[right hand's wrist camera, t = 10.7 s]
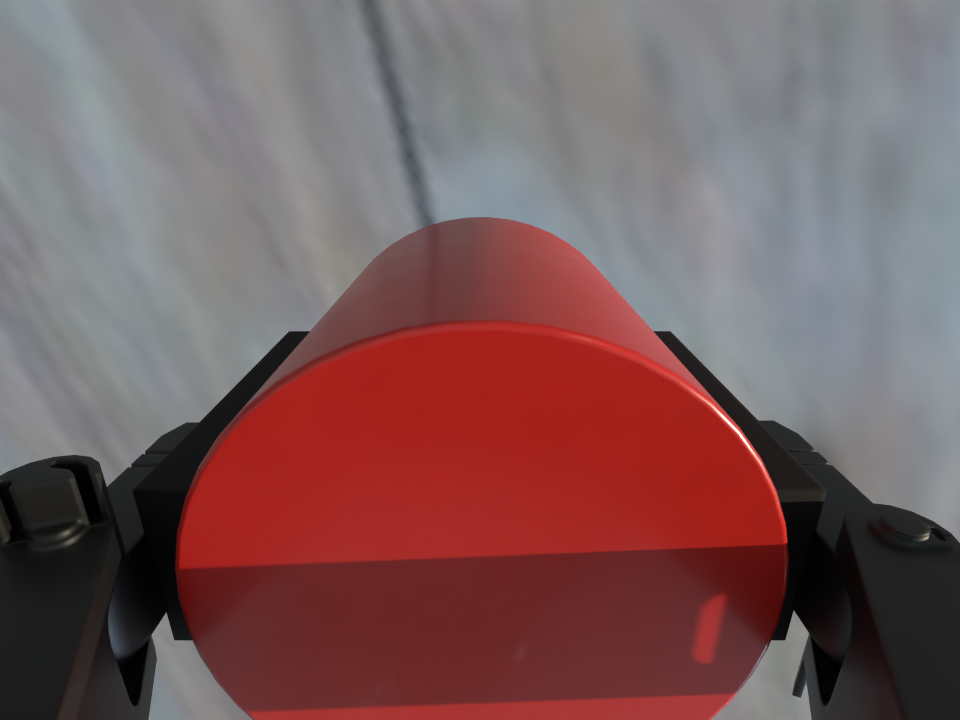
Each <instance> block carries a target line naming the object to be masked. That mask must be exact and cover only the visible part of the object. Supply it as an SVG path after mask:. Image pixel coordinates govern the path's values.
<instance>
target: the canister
mask: <svg viewBox="0 0 960 720" xmlns="http://www.w3.org/2000/svg"><path fill="white" fill-rule="evenodd" d="M788 568H789V553H788V543H787V532H786V523H785V519H784V516H783V512H782V509H781V505H780V501H779V498H778V494H777V491H776V488H775V486H774V484H773V482H772V480H771V478H770V476H769V474H768V472H767V470H766V467H765V465H764V463H763V461H762V459H761V457H760V456H759V455H758V453H757V452H756V450H755V449H754V447H753V446H752V445H751V443H750V442H749V440H748V439H747V437H746V436H745V435H744V433H743V432H742V430H741V429H740V428H739V426H738V425H737V424H736V423H735V422H734V421H733V420H732V419H731V418H730V416H729V415H728V414H727V413H726V412H725V411H724V410H723V409H722V407H721V406H720V405H719V404H718V403H717V402H716V401H715V400H714V399H713V397H712V396H711V395H710V394H709V393H708V392H707V391H706V390H705V389H704V387H703V386H702V385H701V384H700V383H699V382H698V381H697V380H696V379H695V377H694V376H693V375H692V374H691V373H690V372H689V371H688V370H687V368H686V367H685V366H684V365H683V364H682V363H681V362H680V361H679V360H678V358H677V357H676V356H675V355H674V354H673V353H672V352H671V351H670V350H669V348H668V347H667V346H666V345H665V344H664V343H663V342H662V341H661V339H660V338H659V337H658V336H657V335H656V334H655V333H654V332H653V331H652V329H651V328H650V327H649V326H648V325H647V324H646V323H645V322H644V321H643V319H642V318H641V317H640V316H639V315H638V314H637V313H636V312H635V311H634V309H633V308H632V307H631V306H630V305H629V304H628V303H627V302H626V300H625V299H624V298H623V297H622V296H621V295H620V294H619V293H618V292H617V290H616V289H615V288H614V287H613V286H612V285H611V284H610V283H609V282H608V280H607V279H606V278H605V277H604V276H603V275H602V274H601V273H600V271H599V270H598V269H597V268H596V267H595V266H594V265H593V264H592V263H591V262H590V261H589V260H588V259H587V258H586V257H585V256H584V255H583V254H581V253H580V252H579V251H578V250H576V249H575V248H574V247H572V246H571V245H570V244H569V243H567V242H565V241H563V240H562V239H560V238H558V237H556V236H555V235H553V234H551V233H549V232H547V231H544V230H542V229H539V228H537V227H534V226H532V225H529V224H525V223H521V222H517V221H513V220H508V219H499V218H490V217H479V218H462V219H456V220H449V221H444V222H441V223H438V224H434V225H431V226H427V227H425V228H422V229H420V230H418V231H416V232H414V233H411V234H409V235H407V236H405V237H404V238H402V239H400V240H399V241H397V242H396V243H394V244H392V245H391V246H389V247H388V248H387V249H386V250H384V251H383V252H382V253H381V254H380V255H378V256H377V257H376V258H375V259H374V260H373V261H372V262H371V263H370V264H369V265H368V266H367V267H366V269H365V270H364V271H363V272H362V273H361V274H360V275H359V276H358V278H357V279H356V280H355V281H354V282H353V283H352V284H351V286H350V287H349V288H348V289H347V290H346V291H345V292H344V293H343V295H342V296H341V297H340V298H339V299H338V300H337V301H336V303H335V304H334V305H333V306H332V307H331V308H330V309H329V311H328V312H327V313H326V314H325V315H324V316H323V317H322V319H321V320H320V321H319V322H318V323H317V324H316V325H315V327H314V328H313V329H312V330H311V331H310V332H309V333H308V334H307V336H306V337H305V338H304V339H303V340H302V341H301V342H300V344H299V345H298V346H297V347H296V348H295V349H294V350H293V352H292V353H291V354H290V355H289V356H288V357H287V358H286V360H285V361H284V362H283V363H282V364H281V365H280V366H279V367H278V369H277V370H276V371H275V372H274V373H273V374H272V375H271V377H270V378H269V379H268V380H267V381H266V382H265V383H264V385H263V386H262V387H261V388H260V389H259V390H258V391H257V393H256V394H255V395H254V396H253V397H252V398H251V399H250V400H249V402H248V403H247V404H246V405H245V406H244V407H243V408H242V410H241V411H240V412H239V413H238V414H237V415H236V416H235V418H234V419H233V420H232V421H231V422H230V423H229V424H228V426H227V427H226V428H225V429H224V430H223V431H222V432H221V434H220V435H219V436H218V437H217V439H216V440H215V442H214V444H213V445H212V447H211V448H210V450H209V451H208V453H207V454H206V456H205V458H204V459H203V461H202V462H201V464H200V465H199V467H198V469H197V472H196V474H195V476H194V479H193V481H192V483H191V486H190V488H189V490H188V493H187V495H186V498H185V501H184V505H183V509H182V513H181V518H180V522H179V526H178V531H177V542H176V560H175V571H176V580H177V588H178V597H179V602H180V605H181V608H182V612H183V615H184V619H185V622H186V626H187V629H188V631H189V633H190V635H191V637H192V640H193V642H194V644H195V646H196V648H197V650H198V652H199V655H200V657H201V658H202V660H203V661H204V663H205V664H206V666H207V667H208V669H209V670H210V672H211V673H212V675H213V676H214V678H215V679H216V681H217V682H218V684H219V685H220V686H221V687H222V688H223V689H224V690H225V692H226V693H227V694H228V695H229V696H230V697H231V699H232V700H233V701H234V702H235V703H236V704H237V705H238V706H239V707H240V708H241V709H242V710H243V711H244V712H245V713H246V714H247V715H249V716H250V717H251V718H252V719H253V720H711V719H712V718H713V717H714V716H715V715H716V714H717V713H718V712H719V711H720V710H721V709H722V708H723V707H724V706H726V705H727V704H728V703H729V702H730V701H731V700H732V699H733V697H734V696H735V695H736V694H737V692H738V691H739V690H740V689H741V688H742V686H743V685H744V684H745V683H746V681H747V680H748V679H749V678H750V676H751V675H752V674H753V672H754V670H755V669H756V667H757V665H758V664H759V662H760V660H761V659H762V657H763V655H764V654H765V652H766V650H767V649H768V646H769V644H770V642H771V639H772V637H773V635H774V632H775V630H776V627H777V625H778V623H779V620H780V616H781V612H782V608H783V604H784V600H785V596H786V592H787V581H788Z"/></svg>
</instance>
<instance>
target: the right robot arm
mask: <svg viewBox="0 0 960 720" xmlns="http://www.w3.org/2000/svg"><path fill="white" fill-rule="evenodd" d="M309 332H310V331H289V332H288V333H287V334H286V335H285V336H284V337H283V338H282V339H281V340H280V341H279V342H278V343H277V344H276V345H275V346H274V347H273V348H272V349H271V350H270V351H269V352H268V353H267V354H266V355H265V356H264V358H263V359H262V360H261V361H260V362H259V363H258V364H257V365H256V366H255V367H254V368H253V369H252V370H251V371H250V372H249V373H248V374H247V375H246V376H245V377H244V378H243V379H242V380H241V381H240V382H239V383H238V384H237V385H236V386H235V387H234V388H233V389H232V390H231V391H230V392H229V393H228V394H227V395H226V396H225V397H224V398H223V399H222V400H221V401H220V402H219V403H218V404H217V405H216V406H215V407H214V408H213V409H212V410H211V411H210V412H209V413H208V414H207V415H206V416H205V417H204V418H203V419H202V420H201V421H200V423H185V424H183V425H181V426H179V427H177V428H176V429H174V430H172V431H170V432H168V433H166V434H164V435H162V436H161V437H160V438H159V439H158V440H157V441H156V442H155V443H154V444H153V445H152V446H151V447H149V448H148V449H147V450H146V451H145V452H146V453H145V454H142V455H141V456H140V457H139V458H138V459H137V460H136V461H134V462H133V463H132V467H131V468H127V469H126V470H125V471H124V472H123V473H122V474H121V475H120V476H118V477H117V478H116V479H115V480H114V481H113V482H112V483H111V484H110V485H109V486H108V487H106V483H105V480H104V477H103V473H102V470H101V467H100V463H99V462H98V461H96V460H95V459H93V458H91V457H87V456H79V455H70V456H59V457H52V458H48V459H44V460H40V461H36V462H32V463H29V464H26V465H24V466H21V467H18V468H16V469H13V470H11V471H8V472H6V473H5V474H3V475H1V476H0V720H148V718H149V711H150V704H151V697H152V689H153V682H154V675H155V667H156V660H157V658H156V651H155V646H154V643H153V639H152V636H151V634H152V633H153V631H154V630H155V628H156V627H157V625H158V624H159V622H160V621H161V619H162V618H163V616H164V615H165V613H166V612H167V615H168V619H169V622H170V626H171V630H172V633H173V637H174V640H192V637H191V635H190V633H189V631H188V629H187V626H186V622H185V619H184V615H183V612H182V608H181V605H180V602H179V597H178V588H177V580H176V571H175V560H176V542H177V531H178V526H179V522H180V518H181V513H182V509H183V505H184V501H185V498H186V495H187V493H188V490H189V488H190V486H191V483H192V481H193V479H194V476H195V474H196V472H197V469H198V467H199V465H200V464H201V462H202V461H203V459H204V458H205V456H206V454H207V453H208V451H209V450H210V448H211V447H212V445H213V444H214V442H215V440H216V439H217V437H218V436H219V435H220V434H221V432H222V431H223V430H224V429H225V428H226V427H227V426H228V424H229V423H230V422H231V421H232V420H233V419H234V418H235V416H236V415H237V414H238V413H239V412H240V411H241V410H242V408H243V407H244V406H245V405H246V404H247V403H248V402H249V400H250V399H251V398H252V397H253V396H254V395H255V394H256V393H257V391H258V390H259V389H260V388H261V387H262V386H263V385H264V383H265V382H266V381H267V380H268V379H269V378H270V377H271V375H272V374H273V373H274V372H275V371H276V370H277V369H278V367H279V366H280V365H281V364H282V363H283V362H284V361H285V360H286V358H287V357H288V356H289V355H290V354H291V353H292V352H293V350H294V349H295V348H296V347H297V346H298V345H299V344H300V342H301V341H302V340H303V339H304V338H305V337H306V336H307V334H308V333H309ZM653 332H654V333H655V334H656V335H657V336H658V337H659V338H660V339H661V341H662V342H663V343H664V344H665V345H666V346H667V347H668V348H669V350H670V351H671V352H672V353H673V354H674V355H675V356H676V357H677V358H678V360H679V361H680V362H681V363H682V364H683V365H684V366H685V367H686V368H687V370H688V371H689V372H690V373H691V374H692V375H693V376H694V377H695V379H696V380H697V381H698V382H699V383H700V384H701V385H702V386H703V387H704V389H705V390H706V391H707V392H708V393H709V394H710V395H711V396H712V397H713V399H714V400H715V401H716V402H717V403H718V404H719V405H720V406H721V407H722V409H723V410H724V411H725V412H726V413H727V414H728V415H729V416H730V418H731V419H732V420H733V421H734V422H735V423H736V424H737V425H738V426H739V428H740V429H741V430H742V432H743V433H744V435H745V436H746V437H747V439H748V440H749V442H750V443H751V445H752V446H753V447H754V449H755V450H756V452H757V453H758V455H759V456H760V457H761V459H762V461H763V463H764V465H765V467H766V470H767V472H768V474H769V476H770V478H771V480H772V482H773V484H774V486H775V488H776V491H777V494H778V498H779V501H780V505H781V509H782V512H783V516H784V519H785V523H786V532H787V543H788V553H789V568H788V581H787V592H786V596H785V600H784V604H783V608H782V612H781V616H780V620H779V623H778V625H777V627H776V630H775V632H774V635H773V637H772V639H771V640H785V639H786V635H787V632H788V628H789V624H790V621H791V617H792V614H793V610H794V611H795V612H796V614H797V615H798V617H799V618H800V620H801V621H802V623H803V624H804V626H805V627H806V629H807V630H808V632H809V636H808V639H807V643H806V646H805V649H804V653H803V656H802V659H801V662H800V666H799V669H798V672H797V676H796V679H795V682H794V688H793V694H792V695H794V696H797V697H800V698H801V695H802V692H803V689H804V686H805V685H806V684H807V688H808V695H809V702H810V709H811V717H812V720H960V543H959V542H958V541H957V540H956V538H955V537H954V536H953V535H952V534H951V533H950V532H948V531H947V530H945V529H944V528H942V527H941V526H939V525H938V524H936V523H935V522H933V521H931V520H929V519H927V518H925V517H923V516H920V515H918V514H916V513H914V512H911V511H908V510H904V509H901V508H897V507H894V506H890V505H882V504H873V503H872V502H871V501H870V500H869V499H868V498H867V497H866V496H864V495H863V494H862V493H861V492H860V491H859V490H858V489H857V488H856V487H855V486H854V485H853V484H852V483H850V482H849V481H848V480H847V479H846V478H845V477H844V476H843V475H842V474H841V473H840V472H839V471H838V470H836V469H835V468H834V467H833V466H832V465H829V464H828V461H827V460H826V459H825V458H824V457H822V456H821V455H820V454H819V453H818V452H815V449H814V448H813V447H812V446H811V445H810V444H809V443H807V442H806V441H805V440H804V439H803V438H802V437H801V436H800V435H799V434H797V433H796V432H794V431H792V430H790V429H788V428H786V427H784V426H782V425H781V424H779V423H777V422H775V421H758V420H757V419H756V418H755V417H754V416H753V415H752V414H751V413H750V412H749V411H748V410H747V409H746V408H745V407H744V406H743V405H742V404H741V403H740V402H739V401H738V400H737V399H736V398H735V397H734V396H733V394H732V393H731V392H730V391H729V390H728V389H727V388H726V387H725V386H724V385H723V384H722V383H721V382H720V381H719V380H718V379H717V378H716V377H715V376H714V375H713V374H712V373H711V372H710V371H709V370H708V369H707V368H706V367H705V366H704V365H703V364H702V363H701V362H700V361H699V360H698V359H697V358H696V357H695V356H694V355H693V354H692V353H691V352H690V351H689V350H688V349H687V348H686V347H685V346H684V345H683V344H682V343H681V342H680V341H679V340H678V339H677V338H676V337H675V336H674V335H673V334H672V333H671V331H653Z"/></svg>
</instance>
